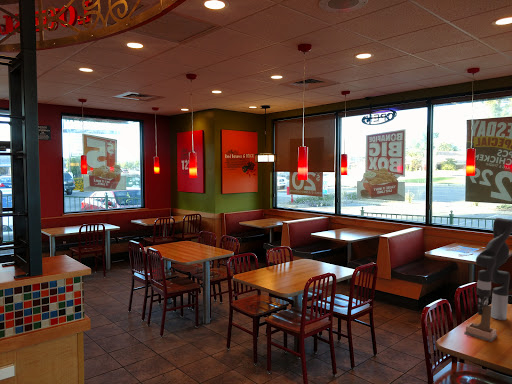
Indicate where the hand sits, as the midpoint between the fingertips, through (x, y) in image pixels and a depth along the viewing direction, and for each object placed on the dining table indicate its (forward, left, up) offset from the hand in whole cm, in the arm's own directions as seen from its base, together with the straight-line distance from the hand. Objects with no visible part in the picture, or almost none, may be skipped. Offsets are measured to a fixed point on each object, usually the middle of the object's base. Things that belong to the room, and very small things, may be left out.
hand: (482, 312), depth 239 cm
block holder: (0, 0, -14) cm, 14 cm away
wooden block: (0, 0, -13) cm, 13 cm away
